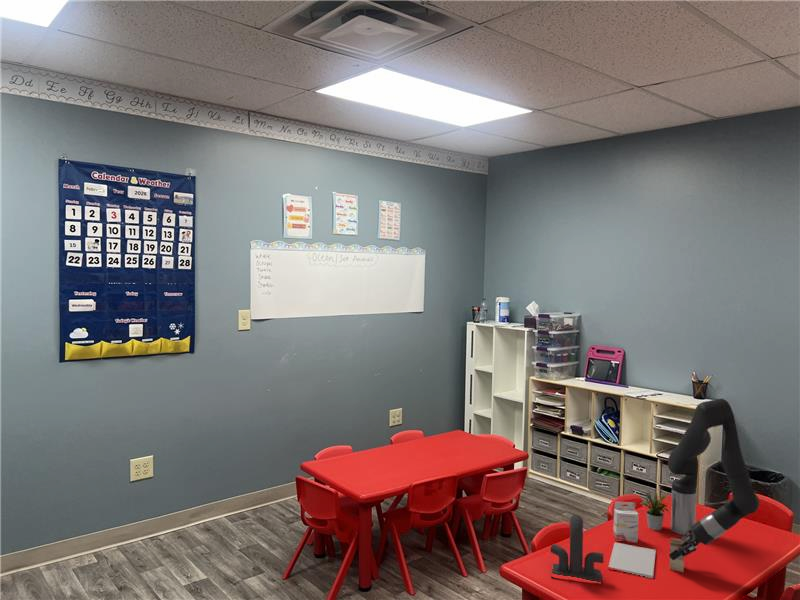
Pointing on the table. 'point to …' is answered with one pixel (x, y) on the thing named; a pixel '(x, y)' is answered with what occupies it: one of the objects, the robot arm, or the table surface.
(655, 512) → the house plant
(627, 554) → the grey board
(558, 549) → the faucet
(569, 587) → the table surface
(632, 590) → the table surface
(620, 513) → the ink cartridge box
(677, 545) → the wooden block
